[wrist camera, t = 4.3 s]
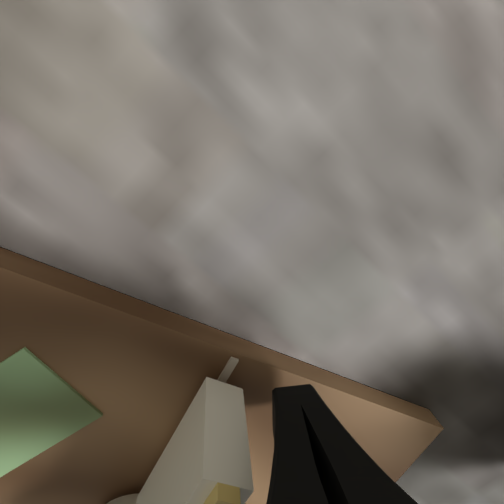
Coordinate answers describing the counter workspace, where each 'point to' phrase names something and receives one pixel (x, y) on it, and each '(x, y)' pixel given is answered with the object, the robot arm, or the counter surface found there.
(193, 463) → the peg
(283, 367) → the board
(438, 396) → the counter surface
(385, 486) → the robot arm
